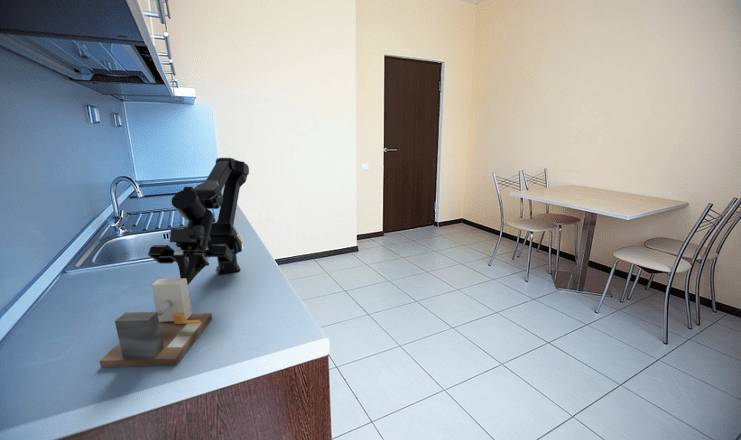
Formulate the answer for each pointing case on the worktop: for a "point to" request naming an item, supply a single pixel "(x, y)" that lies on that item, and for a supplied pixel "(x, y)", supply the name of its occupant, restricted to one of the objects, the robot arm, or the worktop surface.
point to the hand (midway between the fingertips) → (183, 286)
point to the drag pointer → (180, 319)
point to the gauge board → (166, 352)
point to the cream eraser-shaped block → (171, 298)
